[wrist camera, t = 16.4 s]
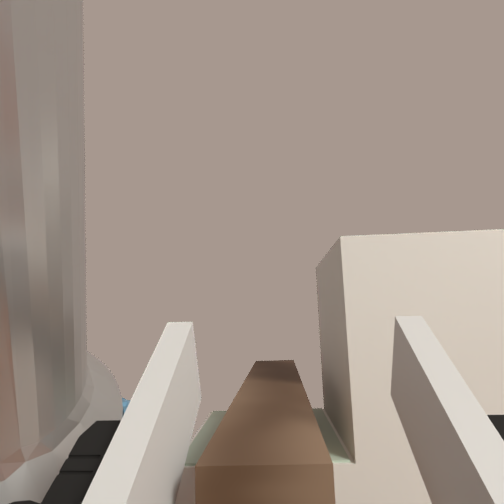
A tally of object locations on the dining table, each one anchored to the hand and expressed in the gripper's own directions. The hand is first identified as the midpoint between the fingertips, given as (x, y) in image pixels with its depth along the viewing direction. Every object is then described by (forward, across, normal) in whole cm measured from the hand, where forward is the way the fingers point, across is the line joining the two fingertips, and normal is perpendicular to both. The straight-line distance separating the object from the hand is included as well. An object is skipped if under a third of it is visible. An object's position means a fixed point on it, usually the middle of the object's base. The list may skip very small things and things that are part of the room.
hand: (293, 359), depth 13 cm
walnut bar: (+6, -1, -9) cm, 11 cm away
